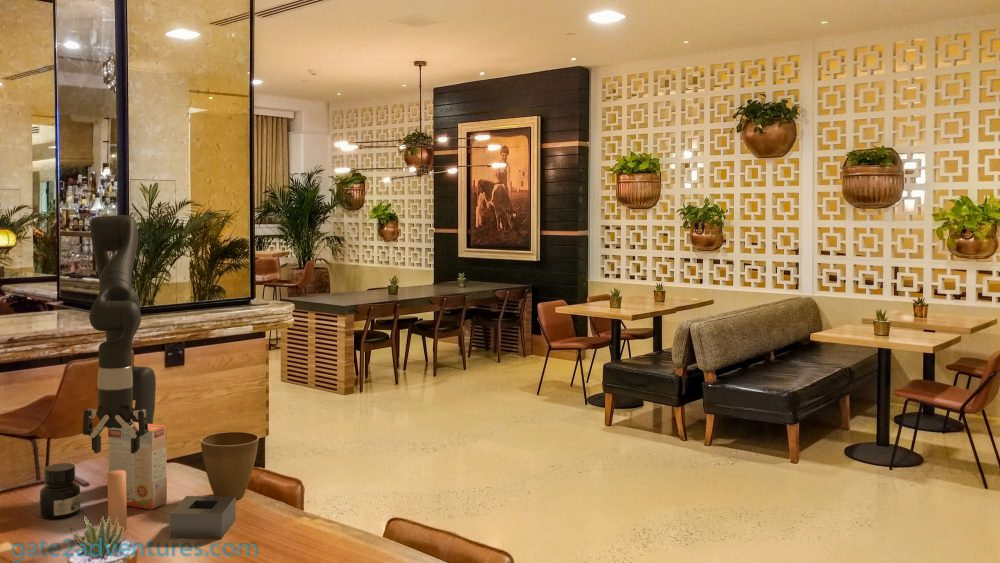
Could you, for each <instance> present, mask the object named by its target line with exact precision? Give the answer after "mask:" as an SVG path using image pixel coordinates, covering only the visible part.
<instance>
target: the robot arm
mask: <svg viewBox="0 0 1000 563" xmlns="http://www.w3.org/2000/svg"><path fill="white" fill-rule="evenodd" d="M89 231H90V232H89V233H90V239H91V246H92V249H93V254H94V259H95V264H96V270H97V275H98V282H99V283H98V284H99V290H98V291H99V292H98V294H97V297H96V298H95V300H94V302H93V304H92V306H91V309H90V312H89V316H88V317H89V318H88V319H89V323H90V325H91V327H92V328H93V329H94V330H96V331H99V332H105V339H106V341H103V342H101V343H100V344H99V345H98V372H97V380H96V385H97V409H94V408H93V407H90V408H87V409H85V410H84V411H83V419H82V420H83V421H82V434H83V435H84V436H89V437H90V438H91V450H92V451H93V453H94V454H99V453H100V452H101V451H102V435H100V434H101V433H102V432H103V431H104V430H105V429H106V428H107V429H108V428H122V427H123V428H124V430H125V431H126V432H128V433H129V434H130V436H131V437H132V438H131V454H135V453H136V452H137V451H138V450H139V448H140V436H143V435H145V434H146V433H147V432H148V424H154V415H155V410H156V408H155V407H156V391H157V390H156V389H157V387H156V386H157V385H156V384H157V382H156V381H157V377H156V374H155V371H154V370H153V368H151V367H148V366H134V365H133V364H132V363H133V362H132V349H133V340H134V336H135V335H136V333H137V332H138V329H139V328H140V325H141V322H142V314H141V306H140V305H141V304H140V298H139V295H138V294H137V292H136V291H135V289H134V287H132V274H133V269H134V268H133V267H134V263H135V260H136V256H137V251H138V250H137V249H138V245H139V232H138V223H137V222H136V220H135V218H134V216H131V215H126V214H125V215H123V214H122V215H121V214H120V215H105V216H102V215H101V216H95V217H93V218H92V219H91V220H90V223H89ZM108 252H117V253H116V254H115V255H114V257H112V258H110V255H109V253H108ZM132 365H133V366H132ZM133 403H134V405H133ZM96 416H97V418H98V419H99V422H98V423H97V425H96V426H95V428H93V425H94V418H95V417H96ZM134 422H138V424H139V430H138V429H137V427H136V425H135V423H134Z"/></svg>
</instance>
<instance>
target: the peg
mask: <svg viewBox="0 0 1000 563" xmlns="http://www.w3.org/2000/svg"><path fill="white" fill-rule="evenodd" d="M108 516H110V518H111V523H112V525H114V524H115V520H116V517H118V522H119V526H123V527H124V531H123V532H125V531H126V530H127V529H128V526H127V525H128V524H127V521H128V520H127V506H126V471H124V470H114V471H110V472H109V471H108V472H107V517H108Z"/></svg>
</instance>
